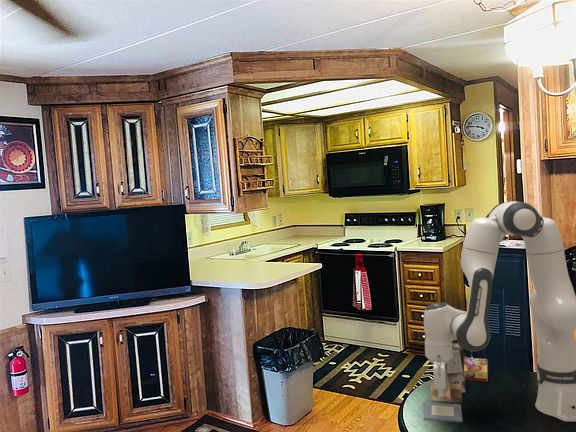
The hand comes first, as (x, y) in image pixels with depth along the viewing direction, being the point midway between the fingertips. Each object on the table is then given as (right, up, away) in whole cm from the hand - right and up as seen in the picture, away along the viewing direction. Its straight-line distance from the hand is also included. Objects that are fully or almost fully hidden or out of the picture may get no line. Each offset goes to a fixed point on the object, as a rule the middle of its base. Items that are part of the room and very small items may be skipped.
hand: (440, 391), depth 164 cm
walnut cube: (+8, -6, +10) cm, 14 cm away
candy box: (+21, -3, +24) cm, 32 cm away
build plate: (+1, -7, 0) cm, 7 cm away
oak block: (0, -2, 0) cm, 2 cm away
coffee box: (+12, -6, +20) cm, 24 cm away
